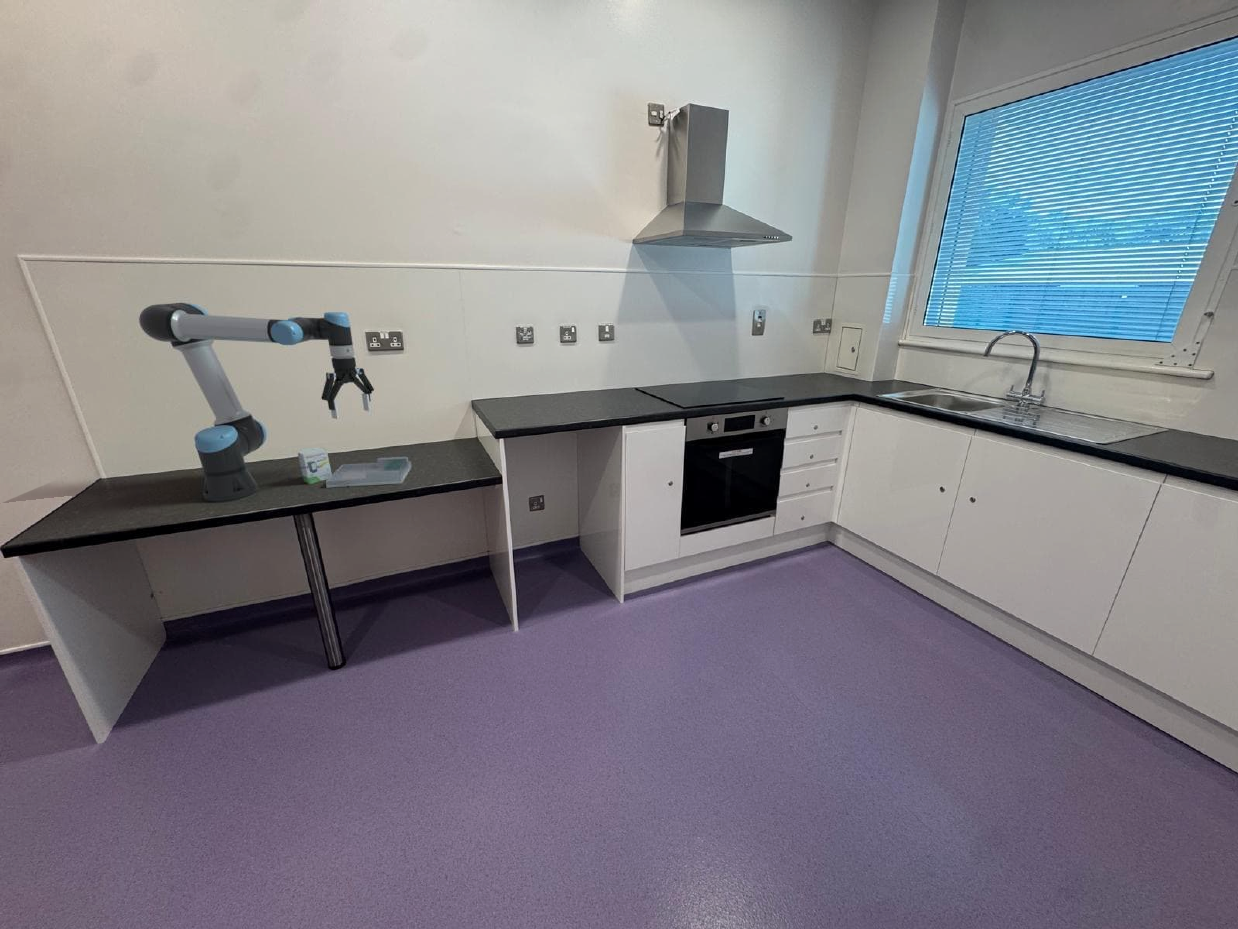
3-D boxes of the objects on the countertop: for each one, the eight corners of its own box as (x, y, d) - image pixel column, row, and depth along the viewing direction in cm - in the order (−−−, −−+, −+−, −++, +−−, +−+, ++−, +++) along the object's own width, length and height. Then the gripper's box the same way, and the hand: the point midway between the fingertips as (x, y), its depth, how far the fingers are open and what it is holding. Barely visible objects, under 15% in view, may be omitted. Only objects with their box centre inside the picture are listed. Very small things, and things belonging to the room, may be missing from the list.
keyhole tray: (326, 487, 181) (324, 476, 179) (343, 470, 197) (341, 459, 196) (401, 483, 185) (400, 472, 184) (411, 466, 202) (410, 456, 200)
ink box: (327, 475, 192) (321, 446, 188) (333, 478, 190) (327, 449, 185) (303, 481, 186) (296, 451, 182) (309, 484, 183) (302, 454, 179)
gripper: (317, 362, 165) (328, 423, 172) (379, 354, 187) (386, 408, 194) (302, 360, 168) (314, 420, 175) (364, 352, 189) (372, 406, 197)
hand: (352, 414), depth 185 cm, fingers open, 13 cm apart
